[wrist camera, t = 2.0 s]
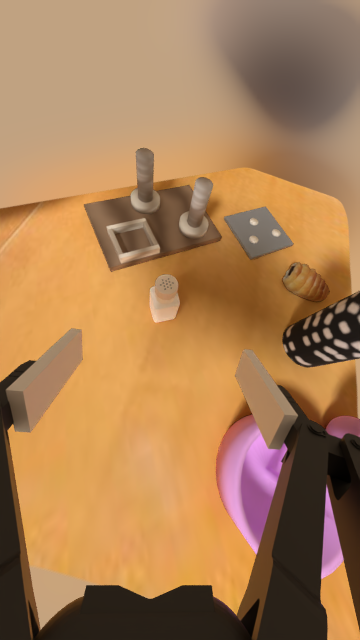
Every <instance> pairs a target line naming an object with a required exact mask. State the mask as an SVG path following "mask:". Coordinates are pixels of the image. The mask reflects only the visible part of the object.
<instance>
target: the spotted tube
mask: <svg viewBox="0 0 360 640" xmlns="http://www.w3.org/2000/svg"><path fill="white" fill-rule="evenodd" d="M283 346H284V349H285V351H286V353H287V355H288V356H289V357H290V358H291V359H292V361H294V362H295V363H296V364H298V365H300V366H303V367H316V366H321V365H326V364H332V363H337V362H343V361H348V360H354V359H359V358H360V291H358V292H356V293H354V294H352V295H350V296H348V297H346V298H344V299H342V300H340V301H338V302H336V303H334V304H332V305H330V306H328V307H326V308H324V309H322V310H320V311H318V312H316V313H314V314H312V315H310V316H308V317H306V318H304V319H302V320H300V321H299V322H297V323H295V324H293V325H291V326H289V327H288V328H287V329H286V330H285V332H284V334H283Z"/></svg>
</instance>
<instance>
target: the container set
mask: <svg viewBox="0 0 360 640" xmlns="http://www.w3.org/2000/svg"><path fill="white" fill-rule="evenodd" d="M326 431H327V433H328V434H329V435H332V436H335V437H338V438H341V439H342V437H343V436H344V435H345V434H347V433H350V434H353V435H356V436H358V437H360V419H358V418H355V417H352V416H339V417H336V418H334V419H333V420H331V421H330V422H329V424H328V425H327V427H326ZM286 451H287V447H286V445H285V443H284V444H283V446H282V447H281V449H280V450H277V449H268V448H267V446H266V443H265V441H264V439H263V437H262V434H261V432H260V430H259V428H258V426H257V423H256V421H255V419H254V417H253V414H251V415H248V416H245V417H243V418H241V419H240V420H238V421H237V422H235V423H234V424H233V425H232V426H231V427H230V428H229V429H228V431H227V433H226V434H225V436H224V437H223V439H222V442H221V444H220V447H219V450H218V455H217V459H216V479H217V486H218V490H219V494H220V497H221V500H222V502H223V504H224V507H225V509H226V511H227V512H228V514H229V515H230V517H231V518H232V520H233V521H234V523H235V524H236V526H237V527H238V528H239V530H240V531H241V533H242V534H243V536H244V537H245V539H246V540H247V542H248V543H249V544H250V546H251V547H252V549H253V550H254V552H255V553H256V555H257V552H258V548H259V545H260V541H261V538H262V534H263V531H264V527H265V523H266V520H267V516H268V513H269V509H270V506H271V502H272V499H273V495H274V492H275V488H276V485H277V481H278V478H279V474H280V471H281V467H282V464H283V463H282V462H281V460H282V459H283V457H284V455H285V453H286ZM343 560H344V559H343V555H342V550H341V546H340V542H339V537H338V533H337V528H336V524H335V520H334V515H333V511H332V506H331V502H330V498H329V493H328V489H327V485H326V503H325V520H324V537H323V555H322V572H321V579H322V578H324V577H326V576H327V575H329V574H331V573H332V572H334V571H335V569H336V568H337V567H338V566H339V565H340V564H341V563H342V562H343Z"/></svg>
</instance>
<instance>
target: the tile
mask: <svg viewBox="0 0 360 640" xmlns="http://www.w3.org/2000/svg"><path fill="white" fill-rule="evenodd" d="M224 220H225V221H226V223H227V224H228V226H229V227H230V229H231V231H232V232H233V234H234V235H235V237H236V238H237V240H238V241H239V243H240V244H241V246H242V247H243V249H244V250H245V252H246V253H247V255H248V256H249V258H250V260H251V259H254V258H257V257H260V256H263V255H266V254H269V253H272V252H275V251H278V250H281V249H284V248H287V247H290V246H292V245H293V243H292V241H291V240H290V239H289V237H288V236H287V235H286V233H285V232H284V230H283V229H282V228H281V226H280V225H279V224H278V222H277V221H276V220H275V218H274V217H273V216H272V214H271V213H270V212H269V210H268V209H267V208H266V207H262V208H258V209H254V210H250V211H246V212H242V213H238V214H234V215H230V216H226V217H224Z"/></svg>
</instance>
